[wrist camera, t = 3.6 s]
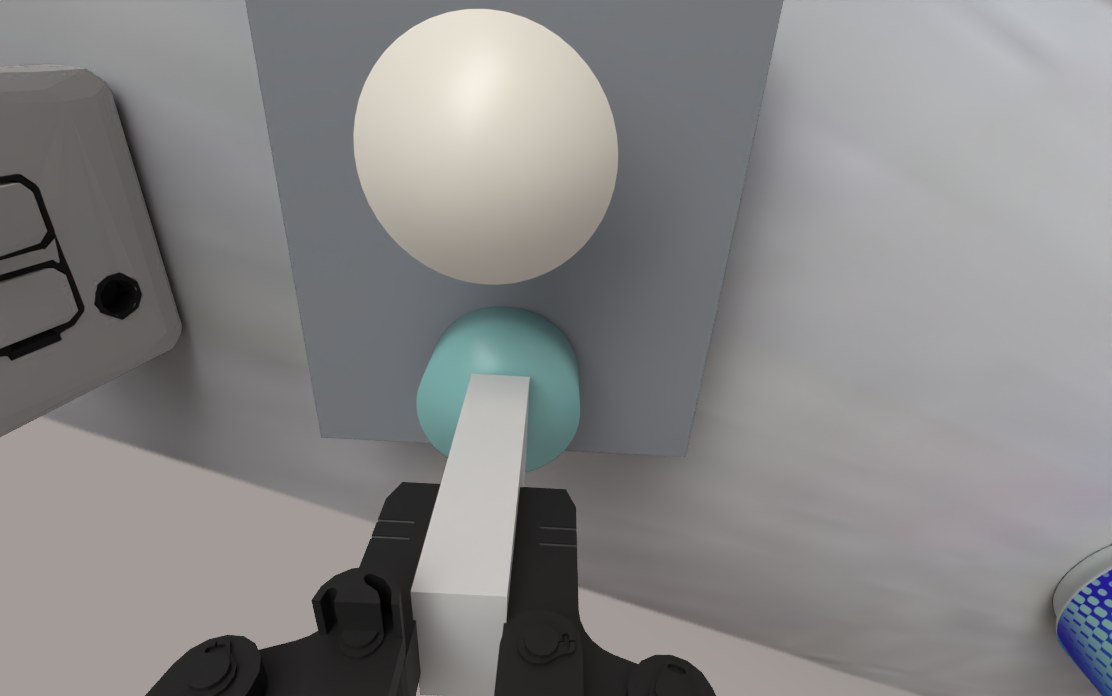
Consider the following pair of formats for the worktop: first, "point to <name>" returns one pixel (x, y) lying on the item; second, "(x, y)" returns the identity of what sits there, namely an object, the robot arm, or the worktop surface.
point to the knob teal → (504, 349)
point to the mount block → (576, 285)
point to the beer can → (1088, 617)
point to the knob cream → (485, 146)
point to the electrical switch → (71, 245)
